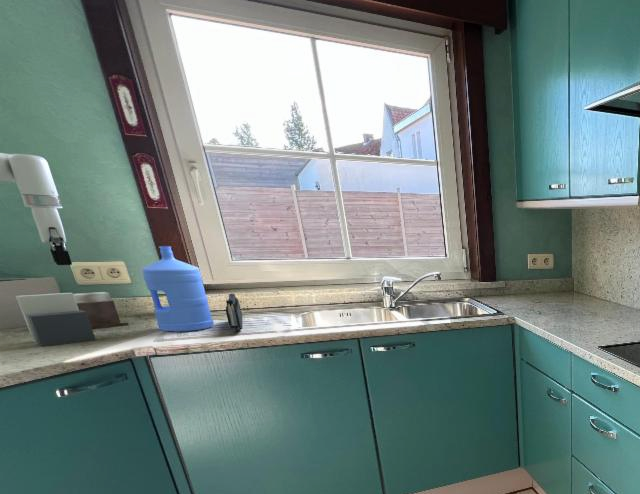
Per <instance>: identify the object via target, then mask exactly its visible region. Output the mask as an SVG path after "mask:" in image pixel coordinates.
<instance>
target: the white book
mask: <svg viewBox="0 0 640 494" xmlns="http://www.w3.org/2000/svg"><path fill="white" fill-rule="evenodd" d="M73 294H74V293H73V292H61V293H60V292H58V293H45V294H41V293H40V294H28V295H27V294H25V295H15V298H16V301H17V304H18V306H19V309H20V310H21V313H22V315H23V319H24V320H25V323H26V326H27V329H28V331H29V333H30V336H31V338H32V341H33V342H34V343H35V344H38V342H37V340H36V337H35V335H34V332H33V330H32V327H31V325H30V322H29V319H28V317H27V315H31V314H43V313H55V312H67V311H79V309H78V306H77V303H76V301H75V298H74V295H73Z"/></svg>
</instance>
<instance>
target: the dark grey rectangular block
mask: <svg viewBox="0 0 640 494" xmlns="http://www.w3.org/2000/svg"><path fill="white" fill-rule="evenodd" d="M27 317H28V319H29V322H30V325H31V327H32V330H33V332H34V335H35V337H36V340H37V345H39V346H41V347H51V346H59V345H66V344H67V345H68V344H75V343H84V342H91V341H92V342H93V341H96V340H97V338H96V336H95V333H94V329H92V327H91V324H90V321H89V319H88V316H87V313H86V312H85V311H82V310H79V311H67V312H55V313H43V314H31V315H27Z"/></svg>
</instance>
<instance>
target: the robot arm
mask: <svg viewBox="0 0 640 494" xmlns="http://www.w3.org/2000/svg"><path fill="white" fill-rule="evenodd" d="M0 182H4V183H15V184H16V185H17V189H18V191H19V194H20V196H21V199H22V202H23V205H24V207H25V208H30V210H31V214H32V216H33V217H32V218H33V220H34V223H35V226H36V229H37V232H38V234H39V238H40V240H41V242H42V243H43V244H47V242H48V244H49V247H50V249H49V250H50V253H51V256H52V259H53V261H54V263H55V264H56V265H57V266H72V265H73V263H72V259H71V256H70V254H69V251H68V250H67V247H66V245H65V244H67V237H66V233H65V229H64V226H63V222H62V219H61V216H60V214H59V210H58V209H63V205H62V202H61V199H60V196H59V192H58V190H57V187H56V184H55V181H54V177H53V175H52V171H51V168H50V166H49V163H48V161H47V160H46V159H45V158H44V157H42V156H40V155H35V154H27V153H11V154H10V153H5V152H0Z"/></svg>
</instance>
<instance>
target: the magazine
mask: <svg viewBox="0 0 640 494" xmlns="http://www.w3.org/2000/svg"><path fill="white" fill-rule="evenodd" d="M225 303H226V306H225V313H226V318H227V323H228V327H229V329H231V330H234V333H236V334H237V333H240V331H239V330H240V329H242V328H243V327H244V326H243V325H244V324H243V323H244V322H243V313H242V308H241V304H240V301H239V299H238V298H237V297H236V294H235V293H229V294H228V299H227V300H226V302H225Z"/></svg>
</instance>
